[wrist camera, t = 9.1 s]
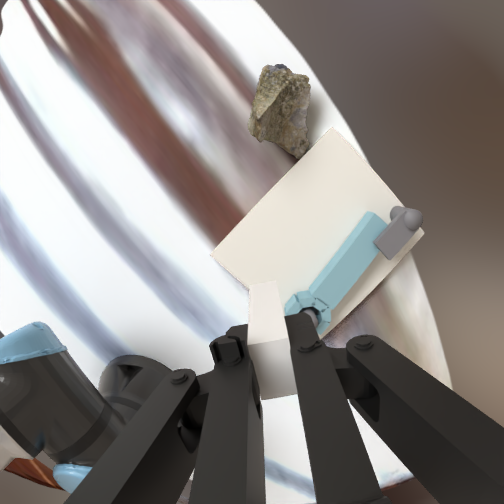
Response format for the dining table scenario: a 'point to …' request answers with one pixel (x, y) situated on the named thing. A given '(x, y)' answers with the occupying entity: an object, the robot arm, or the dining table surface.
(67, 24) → the dining table surface
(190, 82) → the dining table surface
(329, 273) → the link
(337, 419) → the robot arm
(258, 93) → the rock
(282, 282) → the board
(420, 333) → the dining table surface
